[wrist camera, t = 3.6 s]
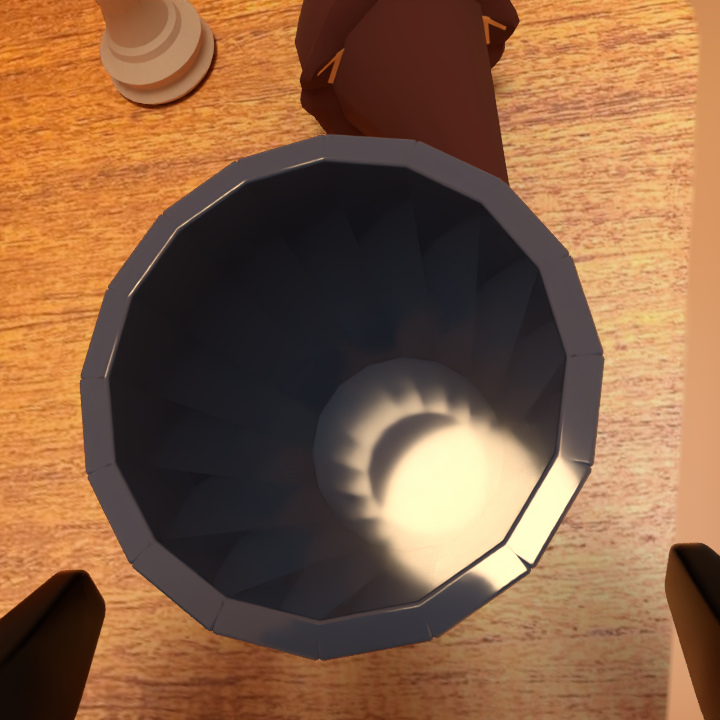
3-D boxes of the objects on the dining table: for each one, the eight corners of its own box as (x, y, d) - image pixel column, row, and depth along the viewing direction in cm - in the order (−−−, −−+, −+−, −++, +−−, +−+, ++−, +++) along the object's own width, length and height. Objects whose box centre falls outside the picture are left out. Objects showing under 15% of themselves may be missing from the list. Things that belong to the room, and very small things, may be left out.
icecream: (686, 95, 14) (427, -215, 19) (395, 178, 12) (208, -181, 18) (576, 263, 20) (405, -8, 26) (376, 329, 19) (242, 29, 24)
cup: (500, 584, 18) (567, 729, 6) (285, 537, 19) (15, 583, 8) (528, 365, 19) (626, 151, 8) (327, 337, 20) (154, 121, 9)
